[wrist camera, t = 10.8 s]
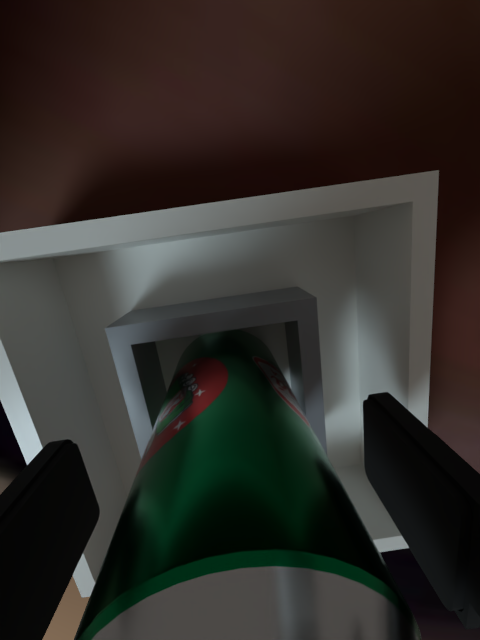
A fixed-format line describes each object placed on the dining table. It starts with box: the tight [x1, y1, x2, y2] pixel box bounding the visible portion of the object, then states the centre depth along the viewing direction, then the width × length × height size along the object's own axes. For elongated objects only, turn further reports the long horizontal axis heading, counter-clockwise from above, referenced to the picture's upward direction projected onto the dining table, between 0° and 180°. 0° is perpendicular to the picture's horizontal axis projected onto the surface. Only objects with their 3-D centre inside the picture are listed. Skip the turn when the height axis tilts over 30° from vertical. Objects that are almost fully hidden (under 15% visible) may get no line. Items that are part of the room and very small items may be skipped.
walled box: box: [0, 170, 439, 597], centre depth 13 cm, size 16×16×5 cm
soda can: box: [74, 329, 421, 640], centre depth 9 cm, size 5×5×12 cm
